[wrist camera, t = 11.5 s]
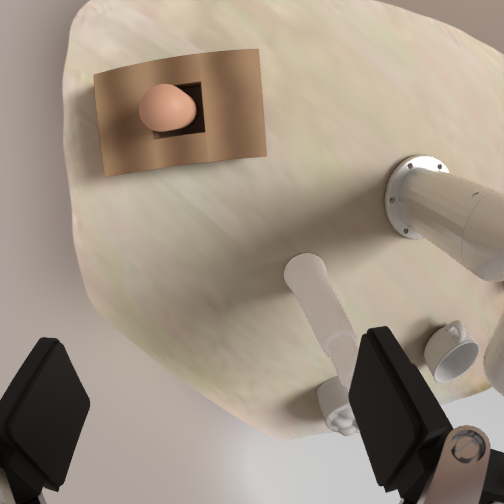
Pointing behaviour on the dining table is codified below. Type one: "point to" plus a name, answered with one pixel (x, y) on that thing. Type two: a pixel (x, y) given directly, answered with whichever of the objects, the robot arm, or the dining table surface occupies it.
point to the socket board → (205, 126)
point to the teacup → (450, 352)
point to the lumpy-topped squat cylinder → (336, 407)
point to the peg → (167, 108)
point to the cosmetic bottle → (323, 312)
